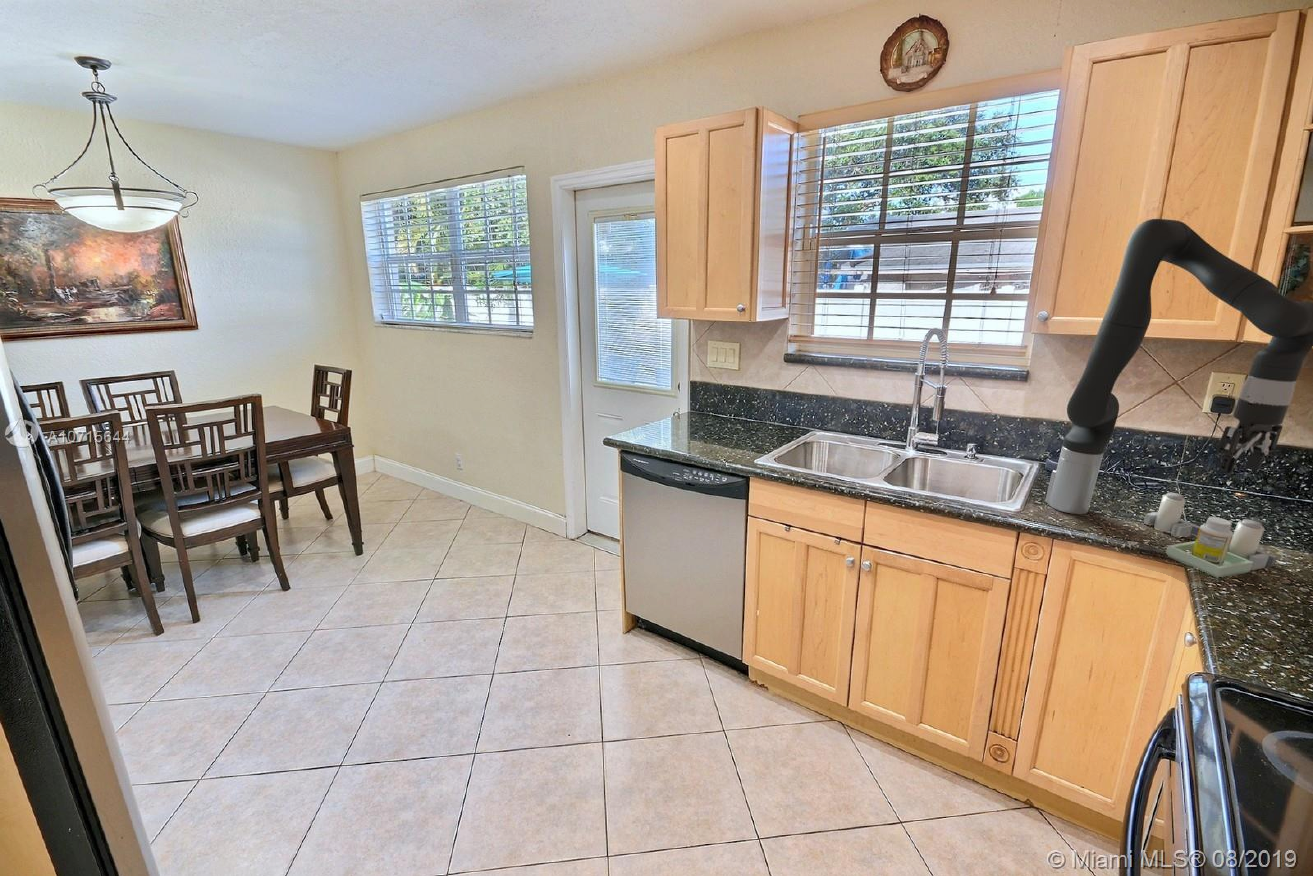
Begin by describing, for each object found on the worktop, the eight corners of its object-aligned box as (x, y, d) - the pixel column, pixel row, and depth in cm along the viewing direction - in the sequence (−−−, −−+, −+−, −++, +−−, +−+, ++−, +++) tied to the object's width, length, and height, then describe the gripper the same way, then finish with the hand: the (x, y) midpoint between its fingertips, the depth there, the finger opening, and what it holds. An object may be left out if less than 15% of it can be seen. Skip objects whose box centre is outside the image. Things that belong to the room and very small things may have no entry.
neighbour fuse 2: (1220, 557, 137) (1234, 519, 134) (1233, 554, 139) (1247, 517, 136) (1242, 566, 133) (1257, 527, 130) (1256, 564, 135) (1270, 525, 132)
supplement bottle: (1204, 554, 137) (1218, 514, 134) (1229, 566, 132) (1244, 525, 129) (1183, 555, 137) (1196, 515, 133) (1207, 567, 131) (1221, 526, 128)
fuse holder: (1142, 524, 154) (1145, 513, 153) (1161, 520, 156) (1165, 510, 155) (1253, 570, 132) (1257, 558, 131) (1274, 566, 134) (1278, 554, 133)
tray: (1164, 555, 138) (1167, 545, 137) (1196, 549, 141) (1199, 540, 140) (1216, 578, 128) (1220, 568, 127) (1249, 572, 131) (1253, 562, 130)
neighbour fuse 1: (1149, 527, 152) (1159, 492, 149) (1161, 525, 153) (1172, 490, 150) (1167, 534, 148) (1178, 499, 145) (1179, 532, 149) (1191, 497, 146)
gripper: (1265, 393, 128) (1240, 462, 133) (1219, 396, 124) (1195, 468, 129) (1309, 402, 121) (1281, 474, 126) (1263, 405, 117) (1236, 480, 122)
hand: (1238, 471), depth 127 cm, fingers open, 8 cm apart
